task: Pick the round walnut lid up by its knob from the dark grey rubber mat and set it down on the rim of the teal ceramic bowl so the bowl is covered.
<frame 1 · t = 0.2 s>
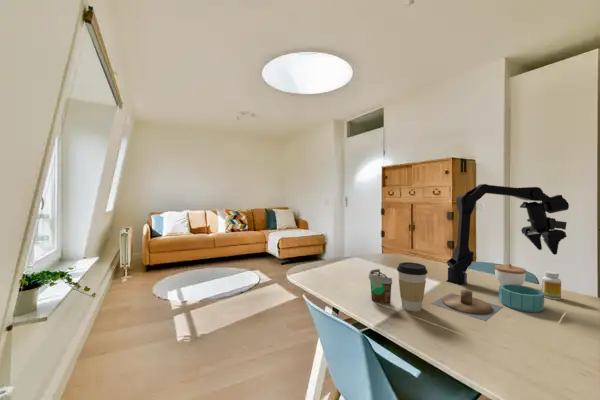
hand: (547, 252, 113), 15 cm above the table, tool pointing down, fingers open, 9 cm apart
lidded jar: (509, 286, 117), on the table
mat: (466, 306, 95), on the table
coffee cup: (411, 308, 93), on the table
food container: (377, 300, 101), on the table
supplement bottle: (551, 297, 104), on the table
bowl: (520, 306, 95), on the table
lid: (466, 305, 95), resting on mat
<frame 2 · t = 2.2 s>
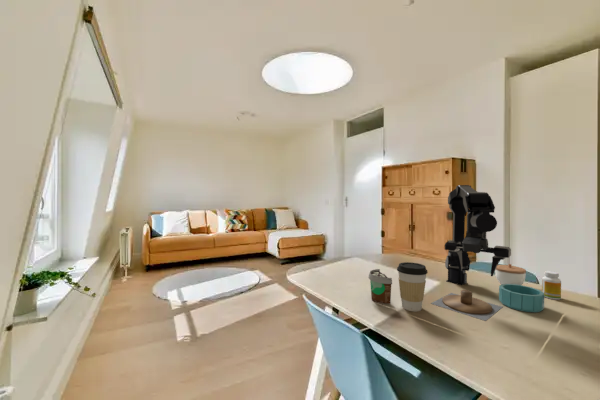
hand: (475, 273, 94), 12 cm above the table, tool pointing down, fingers open, 9 cm apart
nothing on the table moved.
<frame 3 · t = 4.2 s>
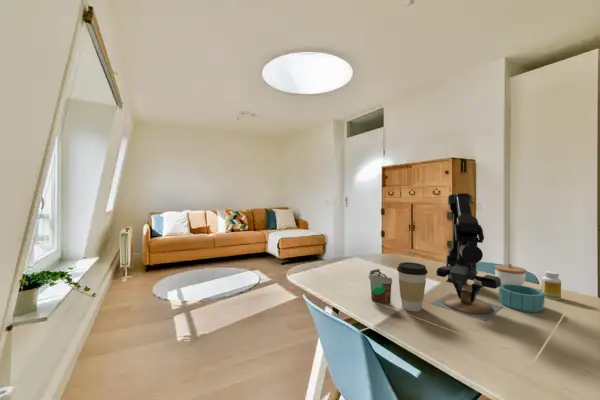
hand: (466, 300, 95), 2 cm above the table, tool pointing down, fingers closed on lid, 3 cm apart
lid: (466, 305, 95), resting on mat, touching gripper
everything else where it was.
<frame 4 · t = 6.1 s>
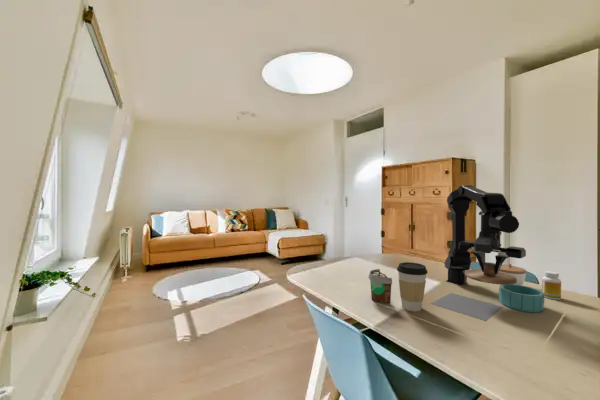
hand: (489, 272, 95), 12 cm above the table, tool pointing down, fingers closed on lid, 3 cm apart
lid: (489, 277, 95), point 10 cm above the table, touching gripper
everything else where it was.
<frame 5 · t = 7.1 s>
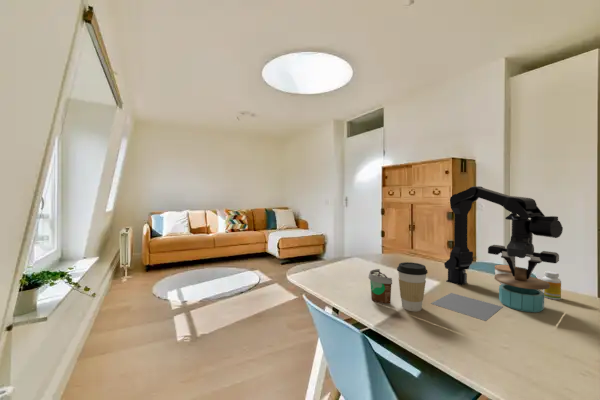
hand: (520, 277, 95), 10 cm above the table, tool pointing down, fingers closed on lid, 3 cm apart
lid: (520, 282, 95), point 9 cm above the table, touching gripper
everything else where it was.
when the fingers open (9 cm above the table, at t = 7.9 s): lid drops 2 cm, resting on bowl.
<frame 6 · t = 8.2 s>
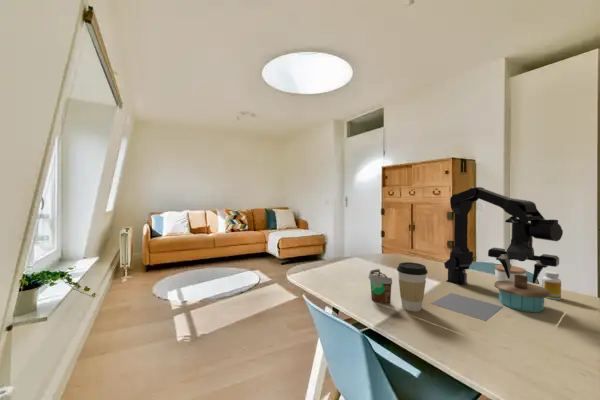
hand: (521, 280, 95), 9 cm above the table, tool pointing down, fingers open, 7 cm apart
lid: (520, 289, 95), point 6 cm above the table, touching bowl
everything else where it was.
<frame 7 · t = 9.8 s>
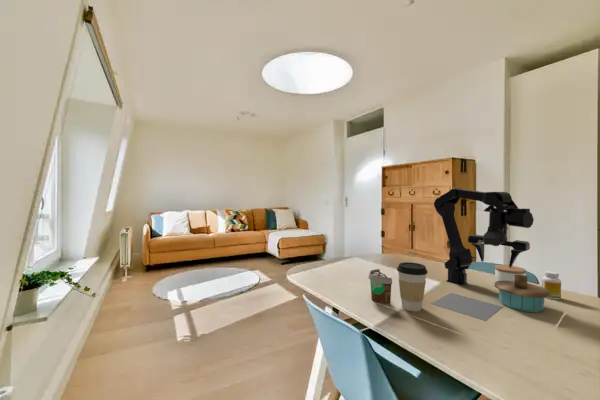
hand: (496, 264, 105), 13 cm above the table, tool pointing down, fingers open, 9 cm apart
nothing on the table moved.
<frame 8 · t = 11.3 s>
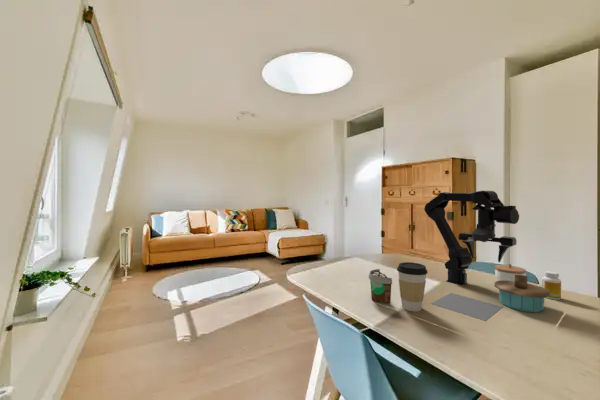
hand: (485, 259, 110), 13 cm above the table, tool pointing down, fingers open, 9 cm apart
nothing on the table moved.
at the end: lid 0.1 cm off-centre on the bowl, point 6.0 cm above the bowl's base; lid tilted 0°; the gripper is holding nothing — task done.
